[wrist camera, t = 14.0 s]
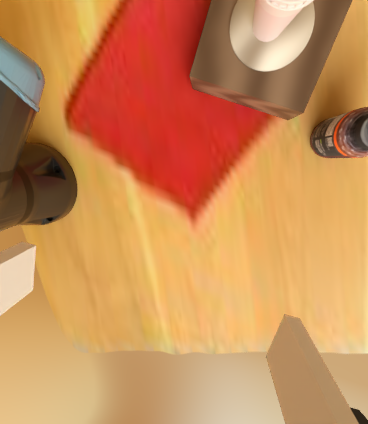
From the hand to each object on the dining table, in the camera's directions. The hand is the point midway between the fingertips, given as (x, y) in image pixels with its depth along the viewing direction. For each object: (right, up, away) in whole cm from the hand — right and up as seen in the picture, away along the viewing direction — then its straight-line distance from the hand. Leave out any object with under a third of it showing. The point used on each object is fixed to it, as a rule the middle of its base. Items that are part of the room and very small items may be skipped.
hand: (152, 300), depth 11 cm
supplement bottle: (+25, +16, +24) cm, 38 cm away
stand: (+13, +29, +22) cm, 39 cm away
